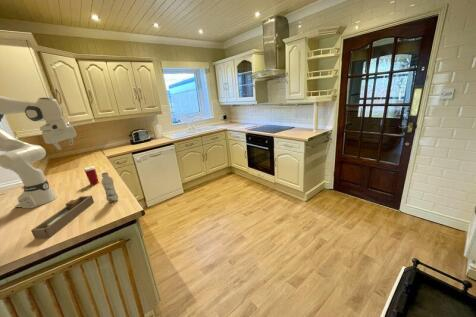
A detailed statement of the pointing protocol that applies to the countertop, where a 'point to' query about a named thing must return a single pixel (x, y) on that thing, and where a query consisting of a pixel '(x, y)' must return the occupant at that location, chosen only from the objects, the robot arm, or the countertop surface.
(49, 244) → the countertop surface
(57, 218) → the long grey tray
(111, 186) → the plastic bottle
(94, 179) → the paper cup
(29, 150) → the robot arm
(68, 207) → the block
